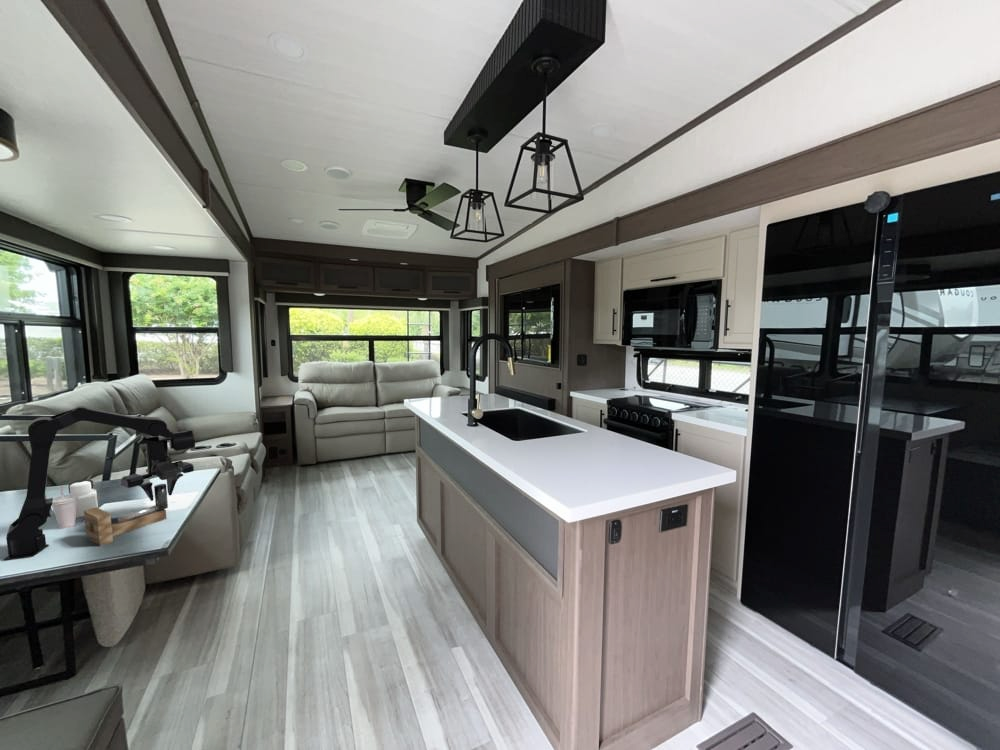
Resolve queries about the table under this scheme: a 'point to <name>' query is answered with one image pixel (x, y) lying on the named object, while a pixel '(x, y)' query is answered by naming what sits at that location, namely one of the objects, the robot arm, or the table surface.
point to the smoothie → (65, 509)
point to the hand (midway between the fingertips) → (161, 497)
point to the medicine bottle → (83, 496)
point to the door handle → (160, 505)
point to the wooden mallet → (102, 529)
